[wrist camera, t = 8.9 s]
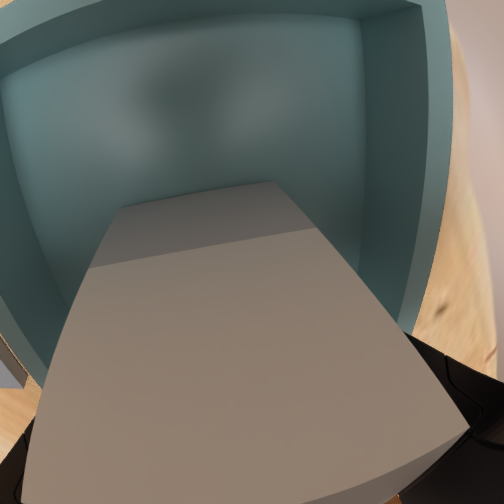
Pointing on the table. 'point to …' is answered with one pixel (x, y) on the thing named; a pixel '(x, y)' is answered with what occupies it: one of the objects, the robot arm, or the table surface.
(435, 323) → the table surface
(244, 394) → the beige rectangular block
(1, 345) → the stud base
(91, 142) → the bin
